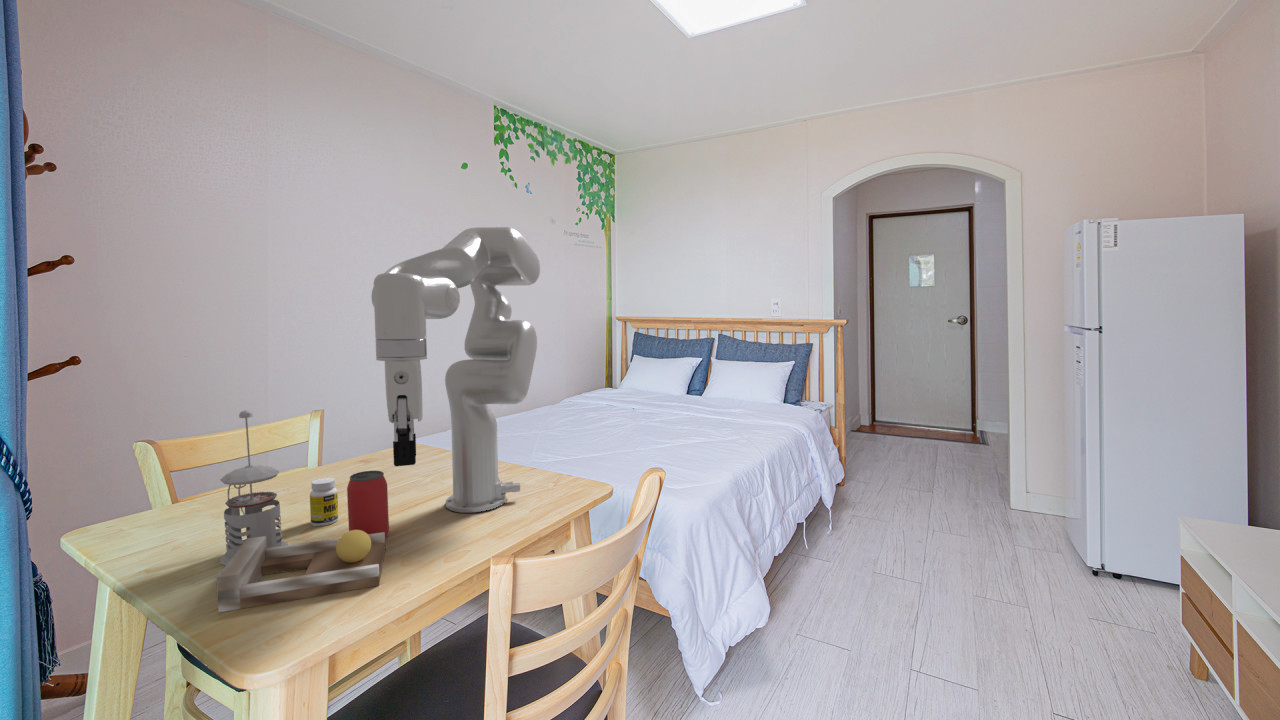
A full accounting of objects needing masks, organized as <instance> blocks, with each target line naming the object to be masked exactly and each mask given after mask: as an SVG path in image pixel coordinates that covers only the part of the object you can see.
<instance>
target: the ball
mask: <svg viewBox="0 0 1280 720" xmlns="http://www.w3.org/2000/svg"><path fill="white" fill-rule="evenodd" d="M339 538H340V539H339V540H338V542H337V546H336V552H337V555H338V556H339V558H340V559H341V560H343V561H345V562H349V563H353V562H358V561H360V560H362V559H363V558H364V557H366V556H367V554H368V553H369V551H370V549H371V539H370V537H369V535H368V534H367V533H366V532H364V531H361V530H351V531H349V530H348V531H347V532H345V533H343V535H342V536H340V537H339Z"/></svg>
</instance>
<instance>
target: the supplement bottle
mask: <svg viewBox="0 0 1280 720" xmlns="http://www.w3.org/2000/svg"><path fill="white" fill-rule="evenodd" d="M338 497H339V496H338V489H337V488H336V479H335V478H334V477H333V478H332V477H324V478H323V477H322V478H318V479H315V480H313V481H311V491H310V493H309V509H310V510H309V512H310V524H311V525H312V526H315V527H317V526H318V527H323V526H328V525H331V524H334V523H336V522H337V521H338V520H339V504H338V503H339V501H338V500H339V499H338Z"/></svg>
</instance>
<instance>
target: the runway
mask: <svg viewBox="0 0 1280 720" xmlns="http://www.w3.org/2000/svg"><path fill="white" fill-rule="evenodd" d="M368 535H369V537H370V539H371V549H370V551H369V553H368V554H367V556H366V557H364V558H363V559H362V560H360V561H358V562H353V563H349V562H345V561H343V560H341V559H340V558H339V556H338V555H337V552H336V546H337V542H338V540H339V539H340V538H341V537H339V538H338V537H337V538H331V539H324V540H317V541H309V542H302V543H301V542H300V543H294V544H288V545H285V546H277V547H270V548H267V545H266V536H263V537H255V538H248V539H247V538H246V539H247V540H246V541H245V542H244V544H243V545H242V546H241V547H240V549H239V550H238V551H237V552H236V554H235V555H234V556H233V558H232V559H231V560H230V561H229V563H228V564H227V565H224V568H222V569H221V571H220V573H219V574H218V575H217V576H216V594H217V605H218V606H217V607H218V613H224V612H229V611H237V610H241V609H247V608H248V609H249V608H254V607H259V606H264V605H271V604H278V603H282V602H283V603H284V602H288V601H289V602H291V601H296V600H302V599H308V598H313V597H319V596H325V595H330V594H337V593H343V592H349V591H355V590H361V589H367V588H368V589H369V588H374V587H379V586H380V583H381V576H382V570H383V565H384V557H385V553H386V537H385V532H382V533H375V534H368ZM304 569H306V571H305V573H304V574H303V575H299V576H297V575H296V576H292V577H291V576H290V577H285V578H277V579H272V580H264V581H260V579H261V577H262V576H265V575H271V574H272V575H273V574H279V573H284V572H285V573H286V572H291V571H298V570H304Z"/></svg>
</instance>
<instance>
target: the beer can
mask: <svg viewBox="0 0 1280 720" xmlns="http://www.w3.org/2000/svg"><path fill="white" fill-rule="evenodd" d="M384 474H385V473H384V472H383V471H381V470H366V471H365V470H364V471H359V472H356V473H353V474H351V475H350V476H349V481H348V484H347V488H346V495H347V498H346V499H347V517H348V518H347V521H348V532H349V531H351V530H361V531H364V532H366V533H367V534H375V533H382V532H385V538H386V537H388V536H389V533H390V524H389V523H390V522H389V519H390V517H389V497H388V494H389V491H388V481H387V480H386V477H385V476H384Z"/></svg>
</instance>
